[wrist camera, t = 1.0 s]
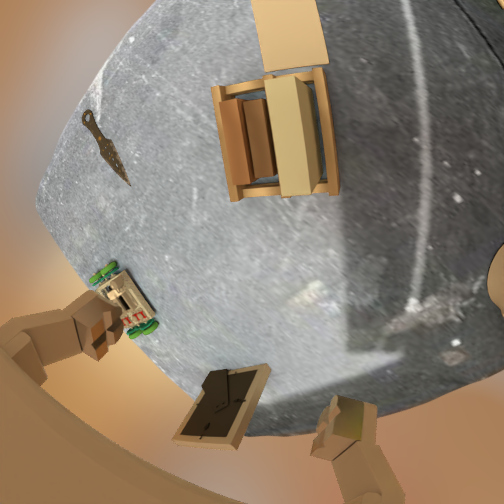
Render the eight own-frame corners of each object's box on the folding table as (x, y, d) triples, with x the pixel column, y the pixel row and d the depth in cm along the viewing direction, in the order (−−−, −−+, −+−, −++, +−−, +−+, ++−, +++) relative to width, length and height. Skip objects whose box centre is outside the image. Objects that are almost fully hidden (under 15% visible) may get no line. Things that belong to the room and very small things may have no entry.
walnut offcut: (273, 101, 38) (261, 98, 32) (284, 168, 41) (273, 176, 36) (257, 104, 38) (243, 101, 33) (268, 170, 42) (255, 178, 37)
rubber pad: (308, -23, 27) (308, -24, 27) (329, 63, 33) (329, 63, 32) (249, -11, 30) (248, -12, 30) (265, 72, 36) (264, 72, 35)
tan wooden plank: (311, 89, 35) (294, 75, 24) (323, 173, 40) (310, 194, 29) (290, 92, 36) (263, 80, 25) (302, 174, 41) (281, 196, 30)
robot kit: (79, 285, 71) (56, 302, 63) (122, 252, 60) (93, 272, 52) (117, 339, 75) (97, 359, 67) (170, 321, 63) (147, 347, 55)
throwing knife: (90, 104, 47) (88, 105, 46) (138, 180, 51) (136, 180, 50) (81, 119, 49) (78, 119, 49) (126, 193, 53) (124, 193, 52)
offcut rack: (325, 73, 34) (321, 67, 29) (340, 187, 40) (338, 195, 35) (225, 90, 39) (210, 87, 34) (243, 193, 45) (230, 201, 41)
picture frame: (217, 379, 67) (177, 445, 49) (210, 371, 66) (168, 437, 48) (271, 369, 59) (237, 450, 42) (264, 360, 59) (227, 442, 41)
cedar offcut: (254, 101, 38) (236, 98, 32) (265, 173, 43) (250, 183, 37) (238, 104, 39) (218, 102, 33) (250, 175, 43) (232, 185, 37)
